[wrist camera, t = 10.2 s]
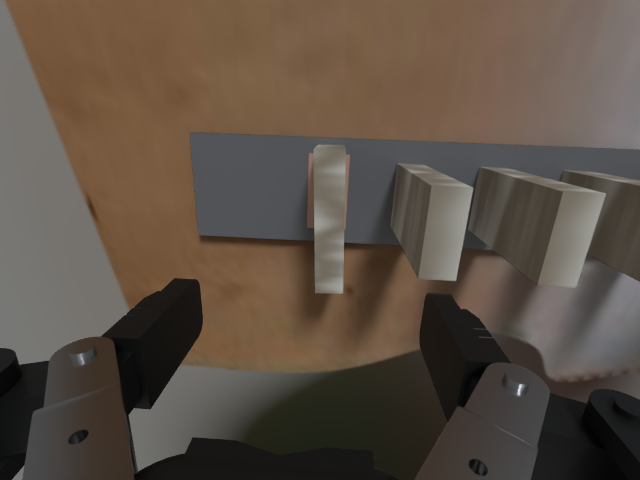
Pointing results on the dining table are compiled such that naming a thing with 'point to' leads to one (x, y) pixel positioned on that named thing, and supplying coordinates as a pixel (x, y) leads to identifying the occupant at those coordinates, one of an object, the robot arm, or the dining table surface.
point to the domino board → (354, 180)
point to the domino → (329, 217)
